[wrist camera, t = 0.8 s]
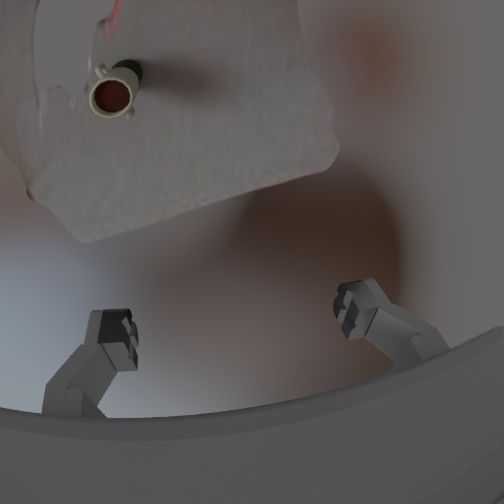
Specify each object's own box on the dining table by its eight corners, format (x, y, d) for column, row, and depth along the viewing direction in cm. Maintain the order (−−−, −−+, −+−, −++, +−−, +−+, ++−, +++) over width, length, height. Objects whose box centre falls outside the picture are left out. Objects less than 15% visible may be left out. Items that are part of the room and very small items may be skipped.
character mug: (96, 62, 41) (73, 85, 33) (129, 42, 40) (112, 58, 32) (124, 104, 49) (111, 135, 41) (156, 86, 48) (148, 113, 40)
